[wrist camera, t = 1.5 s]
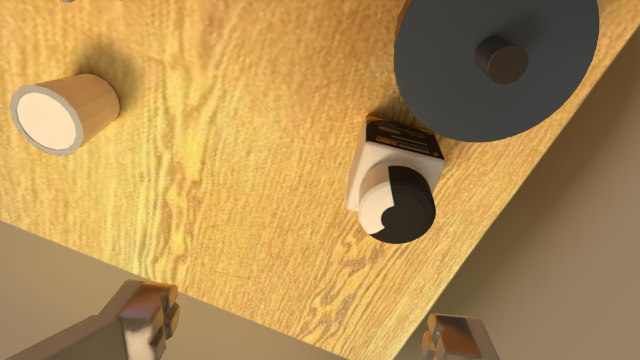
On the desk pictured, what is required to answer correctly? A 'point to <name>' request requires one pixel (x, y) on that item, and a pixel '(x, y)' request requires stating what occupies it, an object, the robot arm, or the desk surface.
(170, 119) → the desk surface
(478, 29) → the pot lid
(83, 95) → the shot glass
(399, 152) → the medicine bottle
